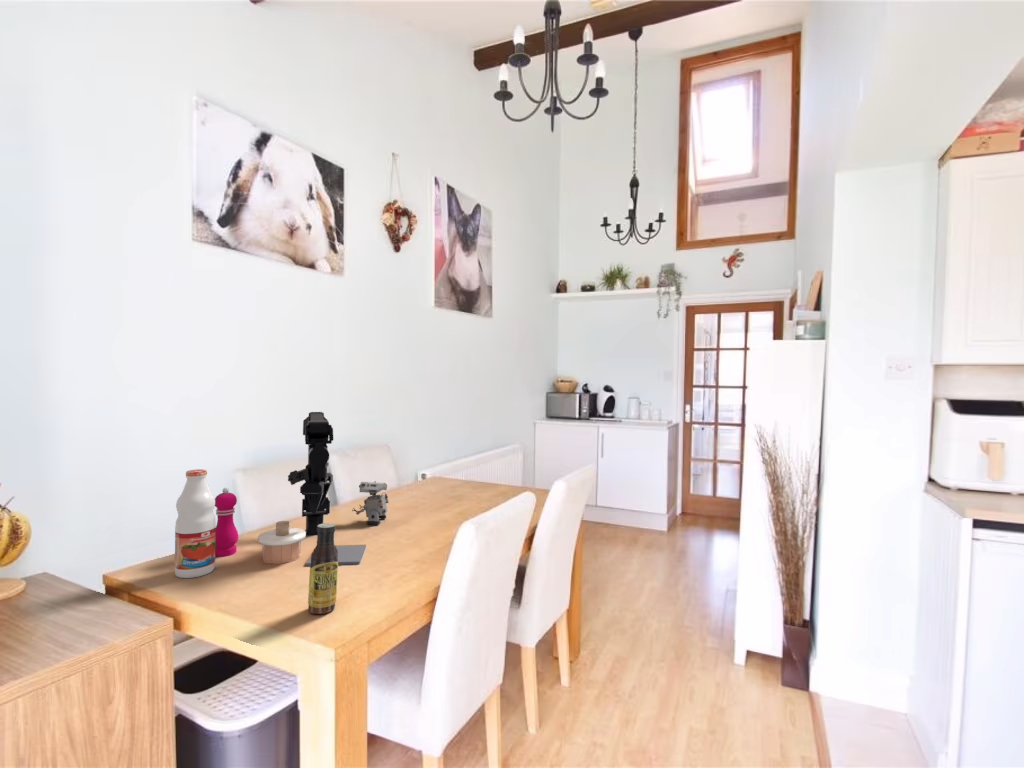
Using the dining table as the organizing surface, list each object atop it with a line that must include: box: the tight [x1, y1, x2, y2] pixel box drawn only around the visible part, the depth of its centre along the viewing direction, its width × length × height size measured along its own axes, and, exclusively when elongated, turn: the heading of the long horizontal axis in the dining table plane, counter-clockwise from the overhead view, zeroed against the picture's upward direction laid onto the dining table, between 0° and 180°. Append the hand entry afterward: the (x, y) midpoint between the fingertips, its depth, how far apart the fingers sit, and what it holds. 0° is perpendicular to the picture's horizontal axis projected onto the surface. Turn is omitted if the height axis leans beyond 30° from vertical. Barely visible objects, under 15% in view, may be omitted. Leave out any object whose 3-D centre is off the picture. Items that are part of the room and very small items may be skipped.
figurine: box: [351, 480, 389, 526], centre depth 190 cm, size 9×12×15 cm
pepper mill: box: [214, 487, 239, 557], centre depth 154 cm, size 7×7×20 cm
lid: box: [257, 520, 307, 546], centre depth 151 cm, size 13×13×5 cm
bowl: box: [261, 540, 302, 565], centre depth 151 cm, size 10×10×6 cm
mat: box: [305, 544, 367, 567], centre depth 154 cm, size 15×15×1 cm
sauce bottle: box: [307, 522, 339, 615], centre depth 119 cm, size 6×6×20 cm
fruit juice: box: [174, 468, 217, 579], centre depth 139 cm, size 9×9×28 cm
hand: (316, 509), depth 161 cm, fingers open, 9 cm apart
